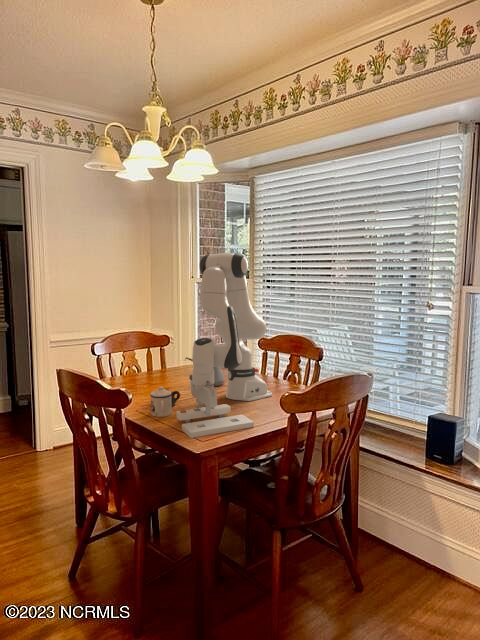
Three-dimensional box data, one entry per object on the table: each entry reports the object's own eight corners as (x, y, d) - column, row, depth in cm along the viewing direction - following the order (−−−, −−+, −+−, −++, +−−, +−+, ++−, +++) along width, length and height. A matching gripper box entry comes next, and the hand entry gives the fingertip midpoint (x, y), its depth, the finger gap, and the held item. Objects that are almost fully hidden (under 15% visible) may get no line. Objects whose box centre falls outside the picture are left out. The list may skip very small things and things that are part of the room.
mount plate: (242, 419, 186) (242, 414, 185) (253, 426, 177) (253, 421, 176) (181, 429, 174) (181, 424, 174) (190, 437, 165) (190, 432, 165)
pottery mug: (159, 410, 198) (152, 393, 200) (157, 414, 207) (150, 397, 209) (184, 400, 203) (177, 383, 204) (181, 404, 211) (175, 388, 213)
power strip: (226, 413, 193) (226, 402, 192) (230, 416, 189) (230, 405, 188) (176, 421, 183) (176, 409, 182) (180, 425, 179) (180, 412, 178)
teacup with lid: (150, 411, 196) (149, 385, 195) (171, 409, 198) (170, 383, 197) (151, 420, 184) (150, 392, 183) (173, 418, 186) (173, 391, 185)
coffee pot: (224, 381, 247) (224, 354, 245) (226, 387, 236) (225, 358, 234) (185, 382, 245) (184, 355, 243) (184, 388, 234) (184, 359, 232)
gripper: (221, 383, 176) (221, 418, 177) (201, 372, 194) (202, 404, 196) (205, 385, 173) (206, 420, 175) (187, 374, 191) (188, 406, 193)
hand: (203, 412), depth 185 cm, fingers open, 6 cm apart
